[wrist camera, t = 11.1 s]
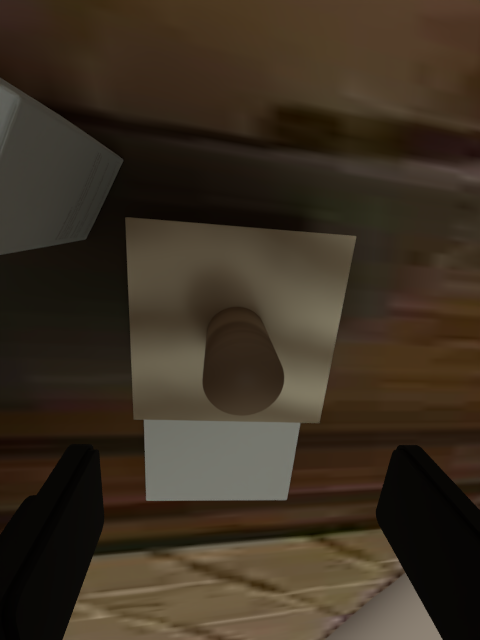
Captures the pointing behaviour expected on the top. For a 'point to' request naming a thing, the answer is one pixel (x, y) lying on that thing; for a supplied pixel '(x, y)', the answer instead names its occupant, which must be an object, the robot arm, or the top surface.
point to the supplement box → (47, 175)
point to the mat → (218, 459)
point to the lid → (232, 320)
